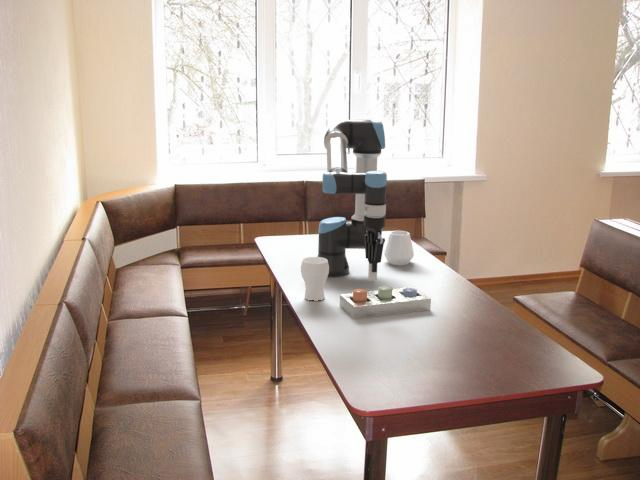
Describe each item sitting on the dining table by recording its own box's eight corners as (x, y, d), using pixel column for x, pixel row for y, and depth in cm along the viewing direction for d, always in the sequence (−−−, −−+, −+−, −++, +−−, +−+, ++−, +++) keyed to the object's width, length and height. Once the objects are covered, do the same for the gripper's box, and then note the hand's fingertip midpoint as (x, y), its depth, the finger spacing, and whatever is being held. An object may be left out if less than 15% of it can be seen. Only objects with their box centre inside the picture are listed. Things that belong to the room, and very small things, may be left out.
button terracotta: (350, 302, 241) (350, 289, 240) (363, 301, 243) (363, 288, 242) (355, 307, 237) (356, 294, 235) (369, 306, 238) (369, 292, 237)
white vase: (418, 261, 304) (419, 231, 300) (405, 268, 293) (407, 237, 289) (391, 256, 311) (393, 227, 307) (378, 263, 300) (379, 233, 296)
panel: (339, 305, 245) (339, 294, 244) (412, 297, 255) (413, 286, 254) (354, 319, 232) (354, 307, 231) (430, 310, 242) (430, 298, 241)
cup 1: (325, 303, 247) (326, 265, 244) (297, 301, 249) (298, 263, 246) (330, 294, 257) (331, 257, 254) (304, 292, 259) (304, 255, 256)
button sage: (375, 300, 245) (375, 287, 243) (388, 298, 246) (388, 285, 245) (381, 304, 240) (381, 291, 239) (394, 303, 242) (395, 290, 240)
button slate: (399, 301, 248) (400, 288, 247) (412, 300, 250) (413, 287, 249) (406, 306, 244) (406, 293, 242) (418, 304, 245) (419, 291, 244)
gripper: (357, 212, 238) (355, 275, 244) (373, 220, 226) (370, 286, 232) (376, 211, 240) (374, 273, 246) (392, 218, 229) (390, 284, 235)
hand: (372, 279), depth 239 cm, fingers closed
